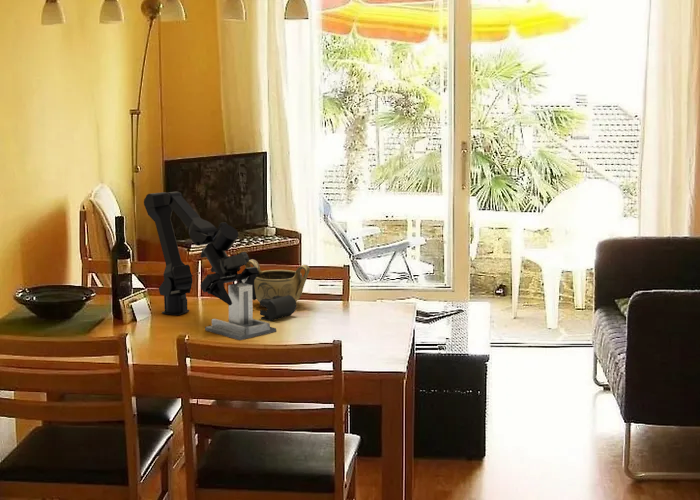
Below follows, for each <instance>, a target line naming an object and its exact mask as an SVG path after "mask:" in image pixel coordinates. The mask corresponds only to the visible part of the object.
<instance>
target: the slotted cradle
mask: <svg viewBox="0 0 700 500" xmlns="http://www.w3.org/2000/svg"><path fill="white" fill-rule="evenodd" d="M270 324H271V323H270V322H268V321H267V322H266V321H264V320H263V321H262V320H259V319H256V318H253V326H251V327H244V326H240V325H236V324H233V323H229V321H225V320H221V319H217V318H212V319H211V325H208V326H205V328H204V330H205V331H206V332H209V333H210V332H211V333H213V334H216V335H220V336H224V337H227V338H231V339H234V340H237V341H243V340H246V339H251V338H255V337H260V336H264V335H268V334H272V333H276V332H277V328H276V327H272V326H271V325H270Z"/></svg>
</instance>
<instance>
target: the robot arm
mask: <svg viewBox="0 0 700 500" xmlns="http://www.w3.org/2000/svg"><path fill="white" fill-rule="evenodd" d="M183 196H184V195H183V194H182V192H179V191H170V192H169V191H168V192H165V191H164V192H154V193H153V192H152V193H148V194H146V196H145V197H144V199H143V205H144V207H145V211H146V213H147V215H148V217H150V218H151V220H152V221H153V222H154V223H155V228H156V233H157V235H158V238H159V243H160V247H161V251H162V255H163V259H164V262H165V268H164V271H163V281H162V283H161V285H160V286H159V287H158V292H159V295H160V296H163V298H164V299H163V301H164V302H163V303H164V304H163V307H164V310H162V311H161V314H163V315H171V316H172V315H174V316H181V315H183V314H186V313H189V311H190V309H188V298H187V294H190V293H191V289H192V286H193V285H192V284H193V274H192V272H191V271H192V270H191V266H190V265H189V264H185V263H184V262H183V260H182V258H181V254H180V251H179V245H178V242H177V239H176V236H175V235H176V234H175V232H174V228H173V227H174V226H173V223H172V220H171V217H172V213H173V212H174V213H175V215H176V216H177V217H178V218H179V219H180V220H181V222H182V223H183V224H184V225H185V226H186V228H187V229H188V236H189V238H190V239H191V240H192V242H193V244H194V245H195V246H204V248H201V253H200V258H202V259H203V258H206V259H207V261H208V262H209V264H210V266H211V268H210V272H211V273H208V274H207V275H206V276H205V277H204V278H203V280H202V282H201V283H200V289H201V290H202V292H203V293H207V294H208V295H212V296H214V297H216V298H218V299H219V300H221V301H222V302H224V303H225V304H227V305H228V306H229V305H232V301H231V299H230V297H229V295H228V291H227V289H226V287H225V284H227V283H232V282H237V281H238V283H246V284H250V285H252V301H256V300H257V299H256V293H255V287H254V280H255V279H256V277H257V276H258V274H259V271H258V269H257V268H256V267H254V266H251V267H249V268H244V269H243V270H242V271H241V273H238V272H240V270H241V268H242V267H243V266H245V265H246V263H247V262H249V260H250V257H249V255H248V254H247V252H246V251H242V252H240V253H238V254H236V255H232V256H229V255H228V254H227V251H229V250H230V249H231V248H232V247H233V245H234V244H235V242H236V241H237V239H238V238H239V231H238V230H237V229H236V228H235V227H234V226H232V225H230V224H229V225H228V223H227V222H226V221H225V222H220V223H219V225H218V227H216V225H214V224H213V223H212V222H210V221H208V220H206V219H203V218H201V216H200V215H199V213H197V212H196V211H195V210H194V209H193V207H192V206H191V205H190V204H189V202H187V200H186V199H185V198H184V197H183ZM205 245H206V246H205Z"/></svg>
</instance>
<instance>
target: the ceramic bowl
mask: <svg viewBox="0 0 700 500" xmlns="http://www.w3.org/2000/svg"><path fill="white" fill-rule="evenodd" d="M251 265H252V266H251ZM244 267H245V268H249V267H256V268H257V269H258V271H259V274H258V276H257V277H256V279H255V280H254V287H255V293H256V300H257V302H258V303H260V300H262V299H265V298H266V299H273V297H274V296H287V295H290V296H292V297H293V298H294V299H295V301H296V302H297V301H299V300H300V298H301V297H302V293H303V291H304V288H305V287H304V286H305V284H306V281H307V278H308V277H309V274H310V269H311V268H310V266H309V265H308V264H303V265H301V266H299V267H298V268H297V269H296V270H289V269H268V270H261V267H260V264H259V262H258V261H257V260H256V259H253V258H252V259H249V262H247V263H246V265H244ZM245 268H244V269H245ZM302 269H303V270H304V274H302Z"/></svg>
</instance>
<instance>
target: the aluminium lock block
mask: <svg viewBox="0 0 700 500" xmlns="http://www.w3.org/2000/svg"><path fill="white" fill-rule="evenodd" d="M227 286H228V287H227V288H228V289H227V290H228V291H227V293H228V295H229V297H230V299H231V301H232V305H228V322H229V323H233V324H236V325H240V326H244V327H251V326H253V319H254V318H253V315H254V314H253V312H254V311H253V308H254V307H253V299H252V285H250V284H246V283H240V282H237V283H232V284H228V285H227Z"/></svg>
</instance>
